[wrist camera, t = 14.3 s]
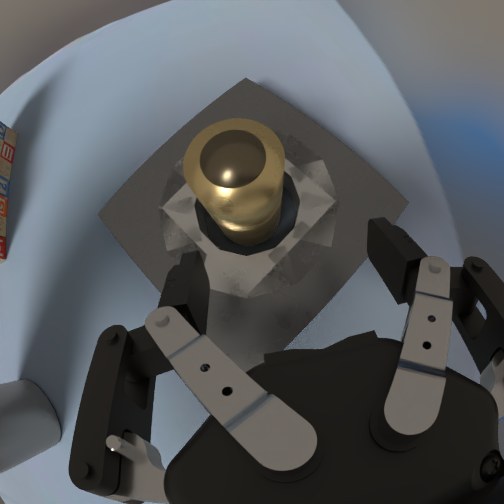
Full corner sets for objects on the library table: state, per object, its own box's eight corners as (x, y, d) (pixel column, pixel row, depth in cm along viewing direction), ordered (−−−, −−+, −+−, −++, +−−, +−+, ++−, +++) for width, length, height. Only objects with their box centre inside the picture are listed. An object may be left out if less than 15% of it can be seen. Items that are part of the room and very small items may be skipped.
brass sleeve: (250, 259, 22) (232, 228, 12) (207, 218, 23) (162, 163, 13) (292, 214, 22) (306, 154, 12) (248, 177, 23) (233, 101, 13)
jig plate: (252, 371, 21) (248, 382, 18) (115, 222, 24) (97, 214, 21) (394, 213, 22) (409, 202, 19) (248, 97, 25) (245, 77, 22)
